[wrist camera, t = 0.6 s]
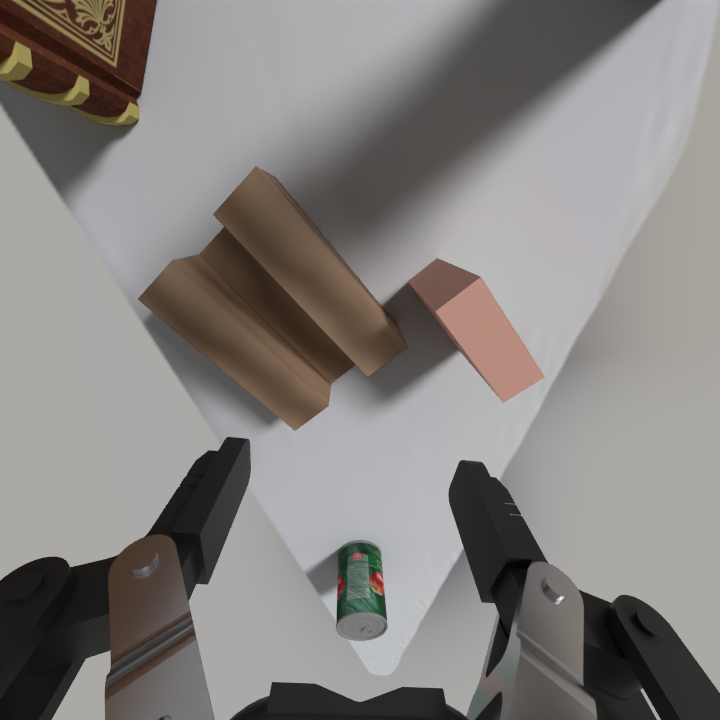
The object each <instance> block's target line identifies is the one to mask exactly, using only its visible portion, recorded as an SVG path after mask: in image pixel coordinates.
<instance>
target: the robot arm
mask: <svg viewBox="0 0 720 720" xmlns="http://www.w3.org/2000/svg"><path fill="white" fill-rule="evenodd" d="M250 472H251V462H250V441H249V439H244V438H233V437H227V438H226V439H225V440H224V442H223V444H222V446H221V447H220V449H219V451H210V450H209V451H207V452H206V453H205V454H204V455H202V456H201V457H200V458H199V459H197V460H196V461H195V463H194V464H193V466H192V467H191V469H190V470H189V472H188V474H187V476H186V477H185V478H184V479H183V481H182V482H181V484H180V487H178V489H177V490H176V492H175V493H174V495H173V496H172V498H171V499H170V501H169V503H168V504H167V505H166V507H165V509H164V510H163V512H162V513H161V515H160V516H159V518H158V519H157V521H156V522H155V524H154V525H153V527H152V529H151V530H150V531H149V532H148V534H147V535H146V536H145V537H144V538H141V539H139V540H137V541H135V542H133V543H132V544H130V545H129V546H128V547H126V548H125V549H124V550H123V551H122V552H121V553H120V554H119V555H117V556H115V557H111V558H108V559H104V560H100V561H96V562H92V563H88V564H83V565H79V566H74V567H69V564H68V563H67V561H66V560H64V559H63V558H59V557H45V558H41V559H37V560H34V561H32V562H29V563H27V564H25V565H23V566H21V567H19V568H17V569H16V570H14V571H13V572H11V573H10V574H8V575H7V576H5V577H4V578H3V579H2V580H1V581H0V720H52V718H53V716H54V714H55V712H56V711H57V709H58V707H59V705H60V704H61V702H62V700H63V698H64V696H65V695H66V693H67V691H68V689H69V688H70V686H71V684H72V682H73V680H74V679H75V677H76V675H77V673H78V672H79V670H80V668H81V666H82V664H83V662H84V661H85V659H86V658H89V657H91V656H95V655H97V654H101V653H104V652H107V651H110V650H111V669H110V673H109V674H108V675H107V677H106V683H105V720H214V715H213V710H212V706H211V701H210V697H209V692H208V688H207V683H206V679H205V674H204V670H203V666H202V661H201V657H200V652H199V647H198V643H197V638H196V634H195V630H194V625H193V620H192V616H191V612H190V607H189V599H190V597H191V595H192V592H193V590H194V588H195V585H196V584H208V583H209V580H210V578H211V576H212V573H213V570H214V568H215V566H216V563H217V561H218V558H219V556H220V553H221V551H222V548H223V545H224V543H225V541H226V538H227V536H228V533H229V531H230V528H231V526H232V523H233V521H234V518H235V516H236V513H237V511H238V508H239V506H240V503H241V501H242V498H243V496H244V493H245V491H246V488H247V486H248V483H249V478H250ZM449 503H450V506H451V509H452V512H453V516H454V519H455V522H456V525H457V528H458V531H459V534H460V537H461V540H462V543H463V546H464V549H465V552H466V555H467V558H468V562H469V565H470V567H471V571H472V574H473V576H474V580H475V583H476V586H477V589H478V592H479V595H480V598H481V601H482V602H485V603H495V605H496V607H497V610H498V614H497V616H496V619H495V622H494V626H493V630H492V634H491V638H490V642H489V646H488V650H487V654H486V658H485V662H484V667H483V670H482V674H481V678H480V681H479V684H478V687H477V690H476V692H475V694H474V696H473V699H472V701H471V704H470V707H469V710H468V713H467V716H466V717H465V716H464V715H463V714H462V713H461V712H459V711H457V710H456V709H454V708H453V707H451V706H449V705H447V704H446V702H445V697H444V692H443V689H441V688H413V687H401V688H399V689H396V690H393V691H390V692H388V693H385V694H382V695H380V696H377V697H374V698H372V699H369V700H366V701H363V702H357V701H354V700H351V699H349V698H347V697H345V696H342V695H340V694H337V693H335V692H333V691H331V690H328V689H326V688H324V687H322V686H319V685H317V684H305V683H280V682H279V683H278V682H272V685H271V691H270V696H268V697H265V698H262V699H259V700H257V701H255V702H253V703H252V704H250V705H248V706H247V707H245V708H244V709H243V710H241V711H240V712H238V713H237V714H236V715H235V716H233V717H232V718H231V719H230V720H657V719H656V718H655V716H654V714H653V712H652V710H651V709H650V707H649V705H648V703H647V701H646V700H645V698H644V696H643V694H642V693H641V691H640V690H641V689H642V688H643V689H644V691H645V692H646V694H647V696H648V698H649V699H650V701H651V703H652V705H653V706H654V708H655V710H656V712H657V713H658V715H659V717H660V718H661V720H720V693H719V692H718V690H717V689H716V687H715V686H714V685H713V683H712V682H711V680H710V679H709V678H708V677H707V675H706V674H705V672H704V671H703V669H702V668H701V667H700V665H699V664H698V663H697V661H696V660H695V658H694V657H693V656H692V654H691V653H690V652H689V650H688V649H687V647H686V646H685V645H684V644H683V642H682V641H681V639H680V638H679V637H678V635H677V634H676V632H675V631H674V630H673V628H672V627H671V626H670V624H669V623H668V622H667V621H666V620H665V619H664V618H663V617H662V616H661V615H660V614H659V613H658V612H657V611H656V610H654V609H653V608H652V607H651V606H649V605H648V604H646V603H645V602H643V601H641V600H639V599H637V598H635V597H632V596H629V595H621V596H619V597H617V598H616V599H615V600H614V601H613V602H612V603H610V602H608V601H605V600H603V599H600V598H598V597H595V596H592V595H590V594H588V593H585V592H583V591H581V590H578V589H577V587H576V586H575V584H574V583H573V582H572V581H571V580H570V578H569V577H568V576H567V575H566V574H564V573H563V572H562V571H560V570H559V569H558V568H556V567H555V566H553V565H551V564H549V563H548V562H547V560H546V559H545V557H544V555H543V553H542V551H541V550H540V548H539V546H538V544H537V542H536V540H535V539H534V537H533V535H532V533H531V531H530V530H529V528H528V526H527V524H526V522H525V521H524V519H523V517H521V513H520V512H519V510H518V508H517V506H516V505H515V503H514V501H513V499H512V497H511V495H510V494H509V492H508V490H507V489H506V488H505V487H504V486H503V485H502V484H501V482H500V481H499V480H498V479H497V478H495V477H490V475H489V473H488V471H487V469H486V467H485V465H484V464H483V463H482V462H476V461H466V460H461V461H460V462H459V464H458V467H457V469H456V472H455V475H454V477H453V480H452V482H451V485H450V488H449Z"/></svg>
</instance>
